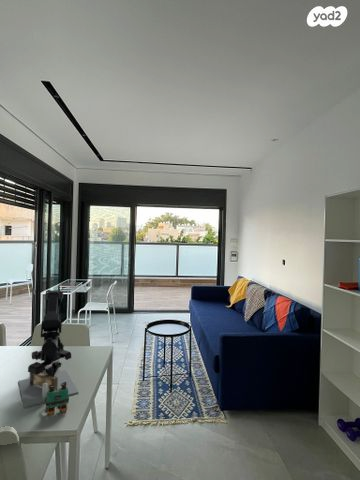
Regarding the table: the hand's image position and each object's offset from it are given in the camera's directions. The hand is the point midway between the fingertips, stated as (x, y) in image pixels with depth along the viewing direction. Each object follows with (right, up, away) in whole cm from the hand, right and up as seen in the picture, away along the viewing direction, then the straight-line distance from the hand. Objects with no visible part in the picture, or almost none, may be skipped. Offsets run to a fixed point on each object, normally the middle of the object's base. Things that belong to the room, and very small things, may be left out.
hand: (50, 380), depth 130 cm
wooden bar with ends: (-3, -3, -1) cm, 4 cm away
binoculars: (+9, -4, -14) cm, 17 cm away
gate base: (-2, -4, 0) cm, 4 cm away
